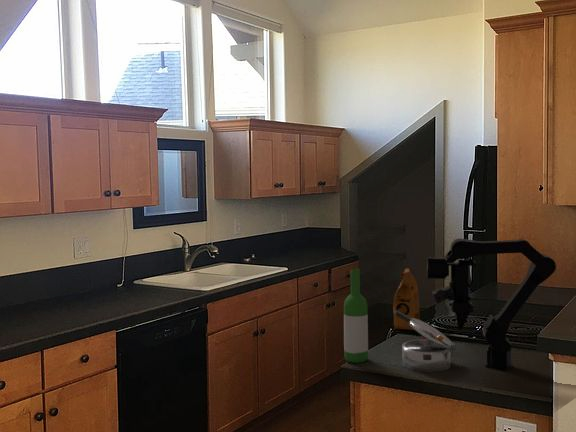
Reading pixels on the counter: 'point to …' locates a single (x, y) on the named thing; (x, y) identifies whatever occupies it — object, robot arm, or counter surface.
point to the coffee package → (406, 300)
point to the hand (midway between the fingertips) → (460, 328)
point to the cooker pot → (425, 356)
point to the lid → (427, 331)
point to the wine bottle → (355, 323)
